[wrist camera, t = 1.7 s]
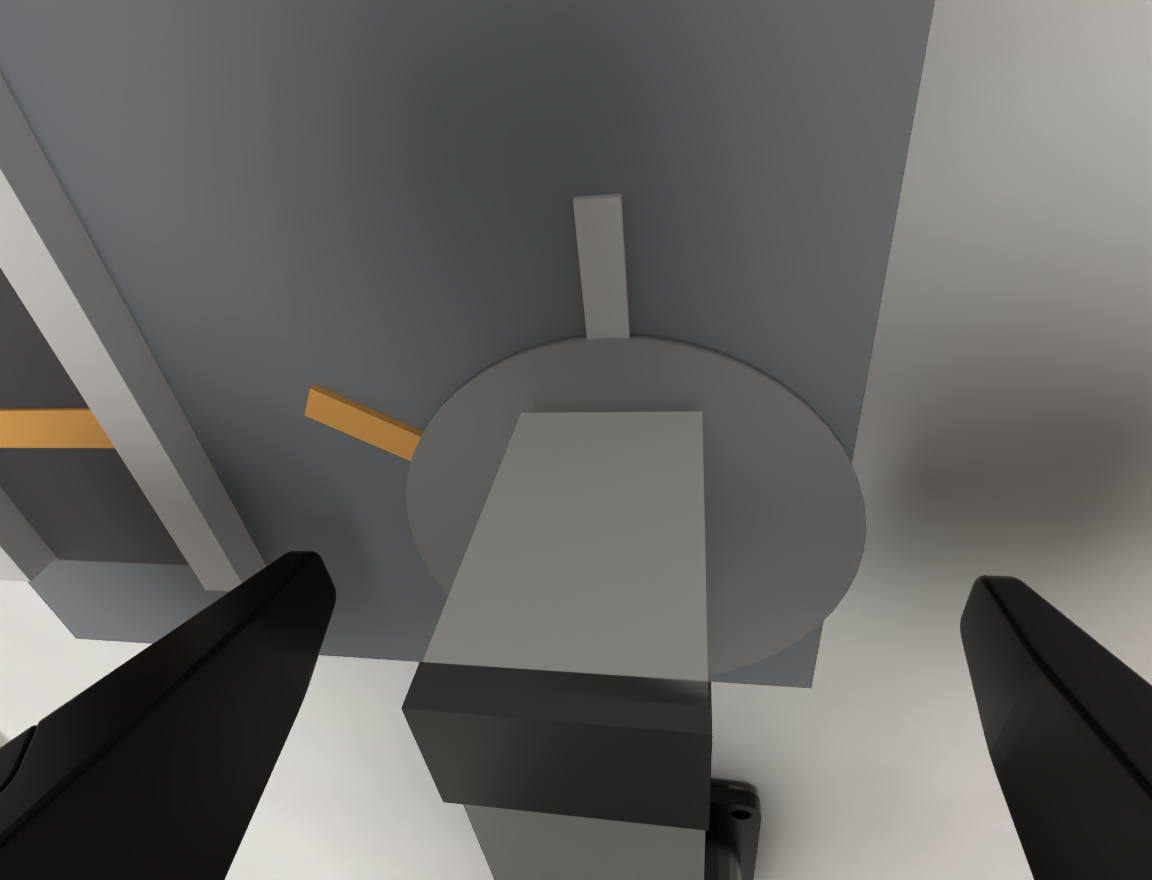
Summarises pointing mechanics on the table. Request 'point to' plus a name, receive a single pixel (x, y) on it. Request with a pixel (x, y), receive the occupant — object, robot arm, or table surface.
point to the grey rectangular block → (579, 655)
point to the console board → (434, 289)
